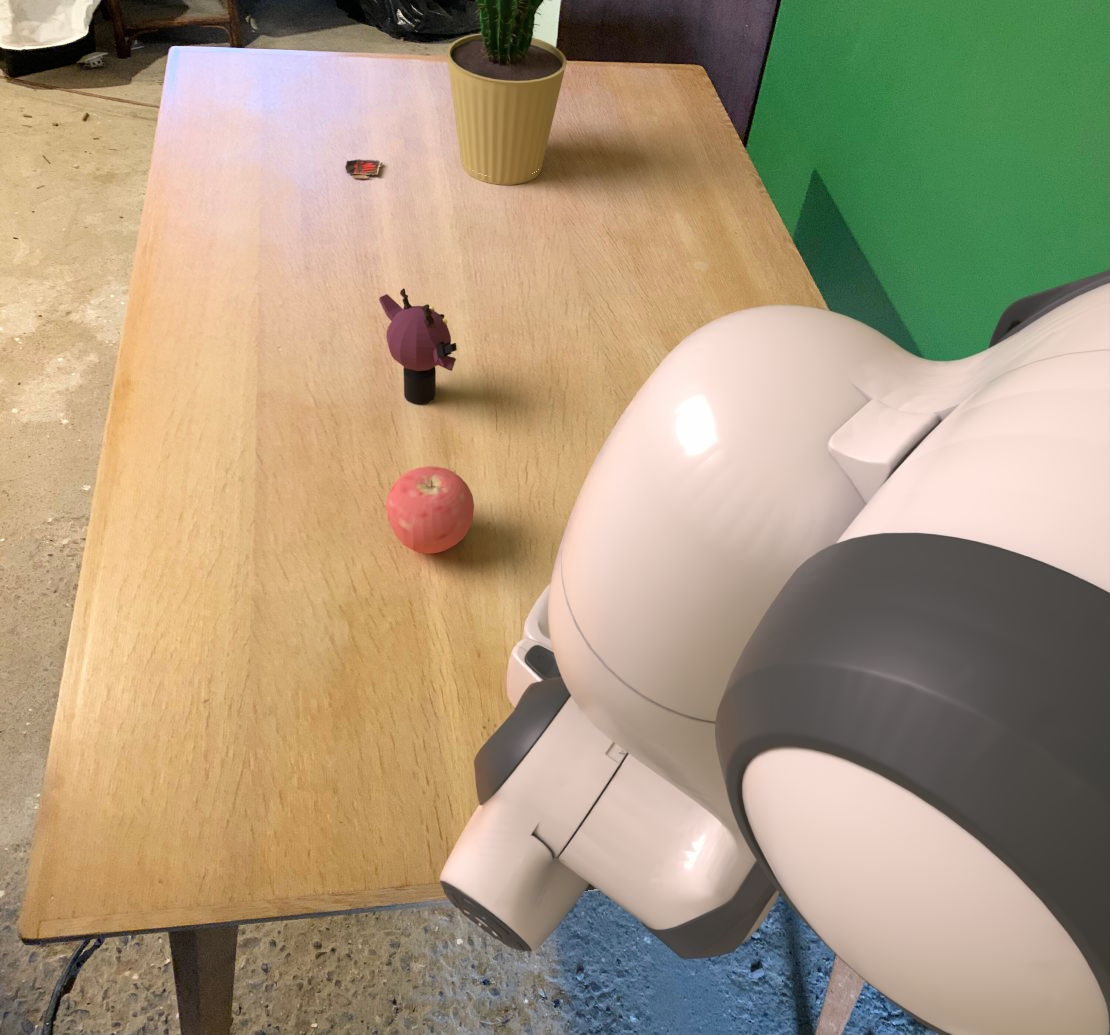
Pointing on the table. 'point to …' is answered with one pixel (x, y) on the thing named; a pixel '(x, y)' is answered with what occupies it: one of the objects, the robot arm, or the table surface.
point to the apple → (430, 509)
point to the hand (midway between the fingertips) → (692, 605)
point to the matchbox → (363, 167)
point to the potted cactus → (504, 93)
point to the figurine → (418, 346)
